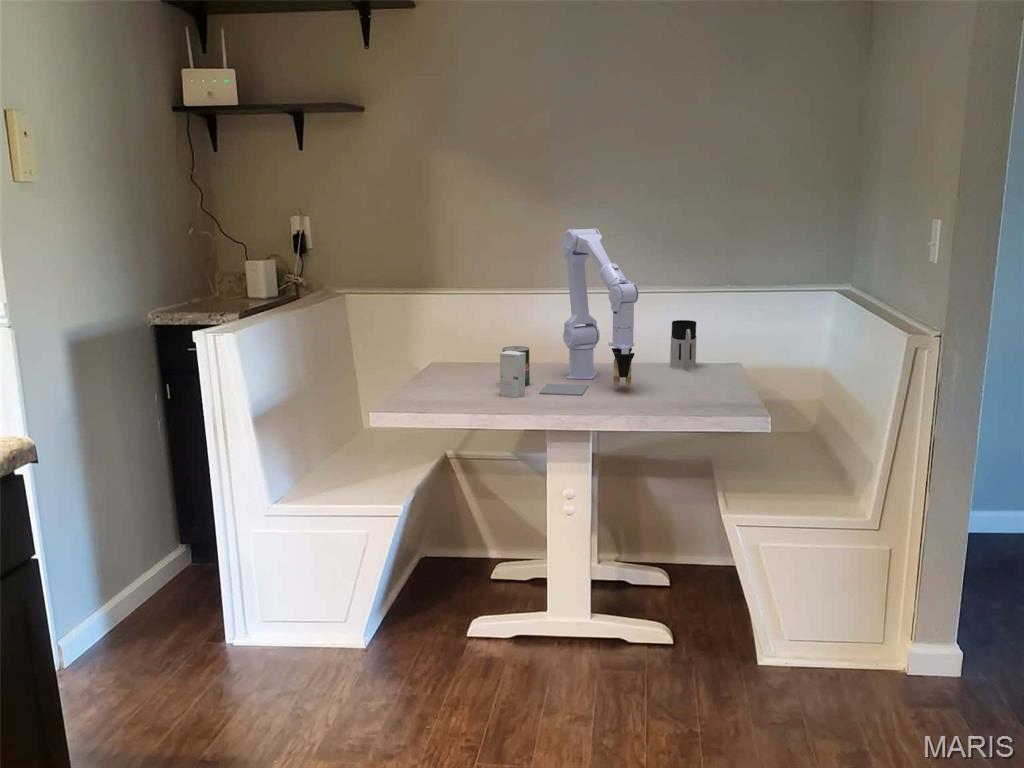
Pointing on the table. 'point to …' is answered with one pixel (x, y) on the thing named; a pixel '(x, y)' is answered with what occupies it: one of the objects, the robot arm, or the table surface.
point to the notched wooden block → (617, 377)
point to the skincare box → (512, 373)
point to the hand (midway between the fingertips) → (622, 375)
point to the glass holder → (683, 345)
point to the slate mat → (564, 389)
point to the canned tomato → (526, 350)
